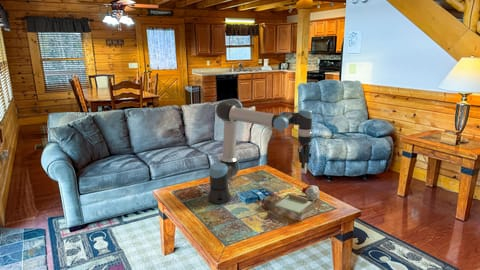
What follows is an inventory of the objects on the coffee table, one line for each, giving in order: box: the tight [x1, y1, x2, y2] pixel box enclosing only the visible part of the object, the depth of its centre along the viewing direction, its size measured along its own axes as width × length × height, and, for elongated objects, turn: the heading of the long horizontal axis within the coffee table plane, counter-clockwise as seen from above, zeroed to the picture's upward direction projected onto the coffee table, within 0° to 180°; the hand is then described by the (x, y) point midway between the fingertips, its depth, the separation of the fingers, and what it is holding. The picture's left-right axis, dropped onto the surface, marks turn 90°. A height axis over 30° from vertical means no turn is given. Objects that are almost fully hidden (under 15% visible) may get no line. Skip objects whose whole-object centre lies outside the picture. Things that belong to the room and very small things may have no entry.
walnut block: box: [263, 195, 278, 211], centre depth 201 cm, size 6×6×6 cm
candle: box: [301, 184, 320, 202], centre depth 213 cm, size 9×11×15 cm
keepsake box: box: [273, 193, 316, 223], centre depth 195 cm, size 18×17×6 cm
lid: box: [275, 193, 313, 214], centre depth 193 cm, size 16×16×3 cm
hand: (303, 172), depth 198 cm, fingers closed
